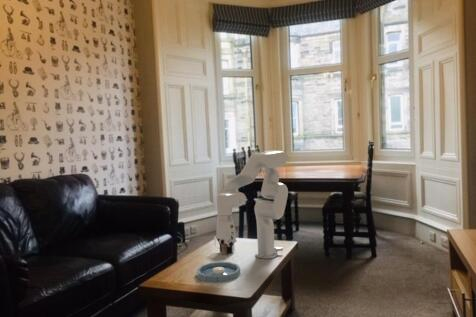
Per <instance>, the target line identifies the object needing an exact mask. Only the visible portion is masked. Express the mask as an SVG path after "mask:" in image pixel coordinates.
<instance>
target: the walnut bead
mask: <svg viewBox="0 0 476 317" xmlns="http://www.w3.org/2000/svg"><path fill="white" fill-rule="evenodd" d="M221 245H222V253H221V254H222V255H228V254H227V247H228V245H227V242H225V243H222V244H221Z"/></svg>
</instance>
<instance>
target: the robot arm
mask: <svg viewBox="0 0 476 317" xmlns="http://www.w3.org/2000/svg"><path fill="white" fill-rule="evenodd" d="M287 162H288V154H286V152H285V151H282V150H265V151H262V152H254V153H252V154H251V155H250V156H249V158H248V159H247V162H245V165H244V167H243V169H241V171H240V173H239V174H237V175H235V176H234V177H233V178H231V180H229V181H228V182H227V183H226V185H224V187H223V190H222V192H221V193H219V194H217V195H216V210H217V211H216V213H217V216H216V217H217V220H216V230H215V231H216V235H215V236H214V237H216V241H217V242H218V246H219V245H220V250H219V252H220V253H221V252H222V245H221V244H222V243H224V240H226V241H227V245H228V247H227V254H226V255H231V253H232V246H233V244H234V245H235V243H236V242H237V239H236V238H237V235H236V226H235V222H234V220H233V219H234V217H233V207H241V206H243V205H244V204H246V201H247V197H246V194H245V193H243V192H240V191H237V190H239V189H240V188H242V187H244V186H247V185H249V184H252V183H253V182H255V180H256V178H257V177H258V175H259V173H260V172H261V170H262V169H264V178H263V182H262V186H261V190H260V191H261V192H260V195H261V196H262V197H263V198H264V200H263V199H262V200H261V199H260V200H258V201H256V202H255V204H254V208H253V209H254V214H255V220H256V234H257V251H256V252H255V258H259V259H266V260H267V259H274V258H276V257H278V252H282V251H284V248H283V247H279V246H277V247H276V246H275V224H274V221H273V220H280V219H282V217H283V216H284V214H285V210H286V206H287V202H288V201H287V200H288V197H289V195H288V194H289V190H288V187H287V185H286V184H284V183H282V182H279V180H280V171H279V169H278V168H281V167H283V166H284V165H286V164H287ZM266 199H269V200H266ZM271 200H273V201H271ZM229 241H230V243H229ZM232 254H233V253H232Z"/></svg>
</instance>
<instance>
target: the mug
mask: <svg viewBox="0 0 476 317" xmlns="http://www.w3.org/2000/svg"><path fill="white" fill-rule="evenodd" d="M213 240H214V246H215V247H216V248H217V249H218V250H219V251H220V245H219V244H218V245H217V239H216V237H215V236H214V237H213ZM225 242H227V241H226V240H224V243H225ZM229 243H230V241H229ZM235 248H236V247H235V243H234V244H233V246H232V253H231V254H234V253H235V250H236V249H235ZM220 253H221V254H222V252H220ZM231 254H230V255H231Z"/></svg>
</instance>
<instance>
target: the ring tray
mask: <svg viewBox="0 0 476 317" xmlns="http://www.w3.org/2000/svg"><path fill="white" fill-rule="evenodd" d="M240 275H241V267H240V266H239V264H237V263H234V262H231V261H216V262H215V261H214V262H208V263H206V264H202V265H200V266H199V267H198V268H197V269H196V276H197V279H199V280H200V281H203V282H205V283H224V282H230V281H233V280H235V279H238V277H239V276H240Z"/></svg>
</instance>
